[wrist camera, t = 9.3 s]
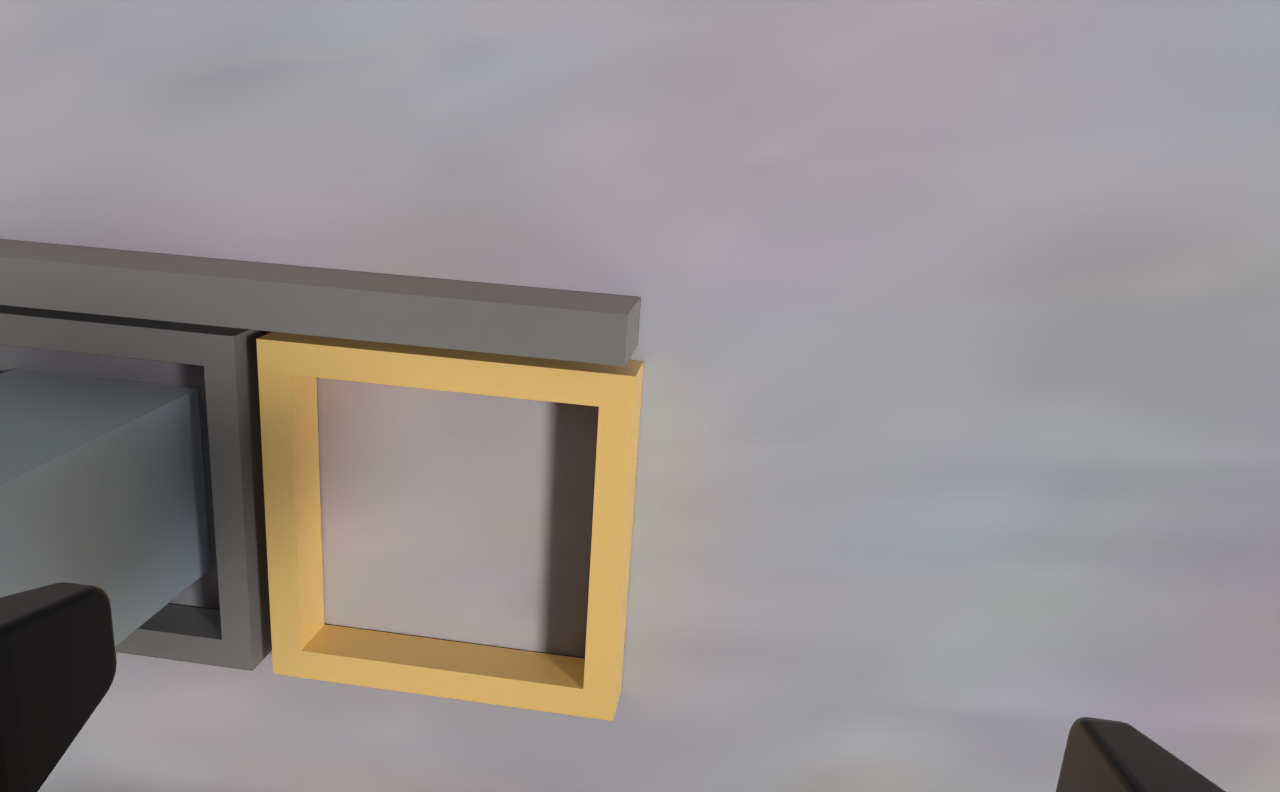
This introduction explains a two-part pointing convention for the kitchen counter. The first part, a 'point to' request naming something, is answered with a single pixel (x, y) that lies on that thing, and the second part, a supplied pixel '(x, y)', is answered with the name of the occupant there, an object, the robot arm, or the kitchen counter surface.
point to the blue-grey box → (101, 489)
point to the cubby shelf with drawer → (289, 449)
